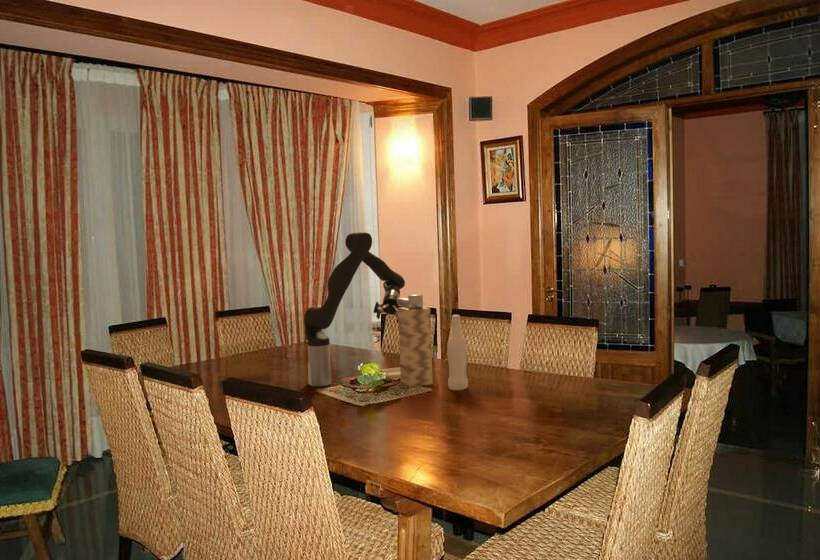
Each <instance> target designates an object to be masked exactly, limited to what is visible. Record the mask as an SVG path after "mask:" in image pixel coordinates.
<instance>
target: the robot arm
mask: <svg viewBox="0 0 820 560" xmlns="http://www.w3.org/2000/svg"><path fill="white" fill-rule="evenodd" d="M344 243H345V247H346V249H347V250H348V251H349V252H350V253H349V254H348V255H347V256H346V257H345V258H344V259H343V260H341V261H340V262H339V263H338V264H337V265H335V267H334V269H333V271H332V272H331V274H330V276H329V277H328V280H327V297H326V299H325V302H324V303H323V305H322V306H321V307H319V306H311V307H308V308H307V309H306V311H305V312H304V318H303V324H304V333H305V338H306V342H307V352H308V362H307V378H308V379H307V380H308V381H307V383H308V385H309V386H311V387H326V386H329V385H331V384H332V371H331V369H332V368H331V350H330V349H331V348H330V343H331V341H330V337H328V336H327V335H326V334H325V333H324V331H323V330H327V329H328V328H329V327H330V326H331V325H332V323H333V321H334V319H335V316H336V313H337V311H338V308H339V306H340V304H341V301H342V300H343V297H344V296H345V293H346V291H347V290H348V288H349V286H350V285H351V282H352V281H353V279H354V275H355V274H356V272H357V271H358V269H359V267H360V266H361V264H362V262H363V263H364V264H365V266H367V267H369V269H370V270H371V271H372V272H373V273H374V274H375V275H376V276H377V277H378V279H379V280H380V281H382V282H383V284H382V286H383V288H384V289H383V290H384V291H385V293H384V296H383V299H382V304H380V303H379V301H375V304H374V307H373V312H372V313H374V314H376V317H377V319H380V318H381V314H382V315H383V314H388V315H392V316H394V318H396V324H399V315H398V308H400V305H397V298H401V297H400V296H401V295H400V294H401V290H402V289H403V288H404V287H405V285H406V282H405V279H404V277H403V276H402V275H400V274H399V273H397V272H396V271H394V270H392V269H391V268H390V267H389V265H388V264H387V263H386V262H385V261H384V260H383V259H381V258H380V257H378V256H377V255H375V254H373V253H372V252H370V250H371V248H372V245H373V238H372V235H371V234H370V233H369V232H367V231H366V232H365V231H364V232H363V231H360V232H352V233H349V234H348V235H347V236H346V238H345V241H344Z"/></svg>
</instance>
